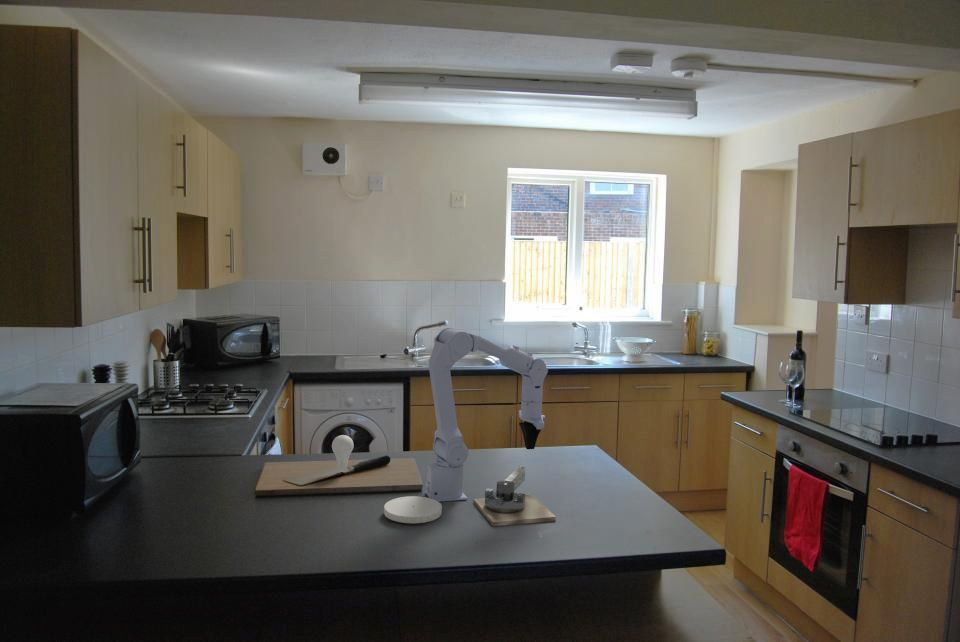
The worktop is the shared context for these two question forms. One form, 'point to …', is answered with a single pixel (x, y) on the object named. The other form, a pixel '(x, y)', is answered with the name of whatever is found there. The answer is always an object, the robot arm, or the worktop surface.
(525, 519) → the square wooden board
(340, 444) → the lightbulb
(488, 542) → the worktop surface
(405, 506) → the plastic lid
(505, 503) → the metal lever mechanism
